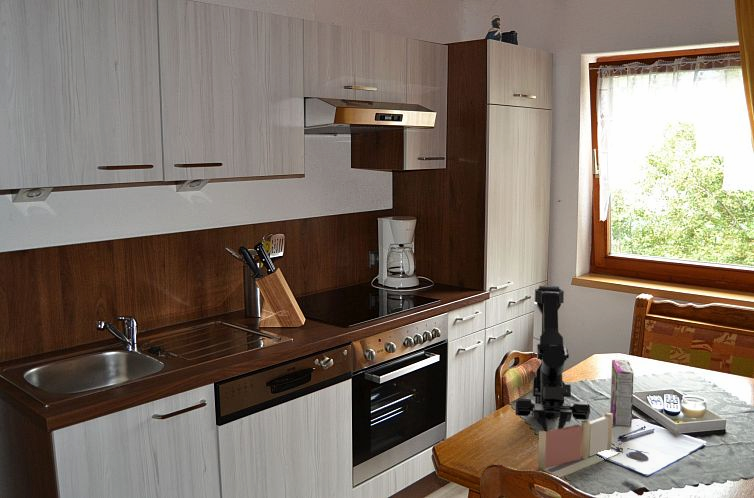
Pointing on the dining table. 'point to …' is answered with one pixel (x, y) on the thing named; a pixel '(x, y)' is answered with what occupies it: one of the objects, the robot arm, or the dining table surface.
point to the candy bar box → (621, 392)
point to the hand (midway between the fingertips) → (552, 441)
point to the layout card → (572, 466)
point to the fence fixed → (596, 435)
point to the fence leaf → (559, 446)
